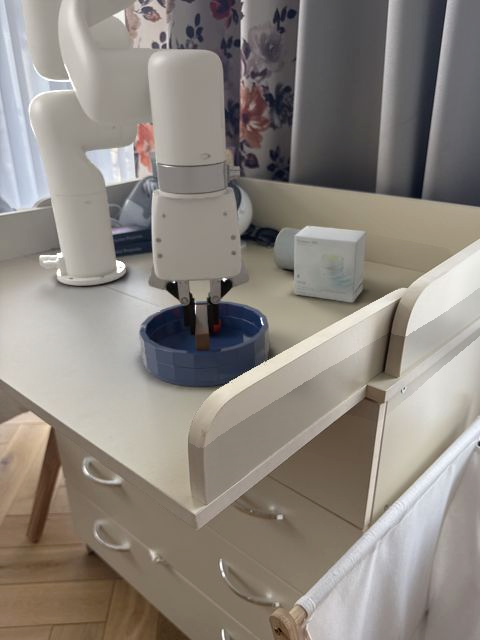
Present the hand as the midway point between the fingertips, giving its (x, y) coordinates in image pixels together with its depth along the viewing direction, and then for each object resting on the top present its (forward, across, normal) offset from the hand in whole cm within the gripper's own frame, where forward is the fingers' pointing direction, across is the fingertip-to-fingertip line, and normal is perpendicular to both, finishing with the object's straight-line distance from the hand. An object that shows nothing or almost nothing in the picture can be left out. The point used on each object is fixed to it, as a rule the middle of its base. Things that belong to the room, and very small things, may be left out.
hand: (202, 329), depth 68 cm
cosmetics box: (+6, -21, -23) cm, 32 cm away
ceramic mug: (+6, -19, -37) cm, 42 cm away
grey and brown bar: (+1, 0, 0) cm, 1 cm away
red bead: (+3, -1, -8) cm, 9 cm away
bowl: (+5, 0, -3) cm, 6 cm away
